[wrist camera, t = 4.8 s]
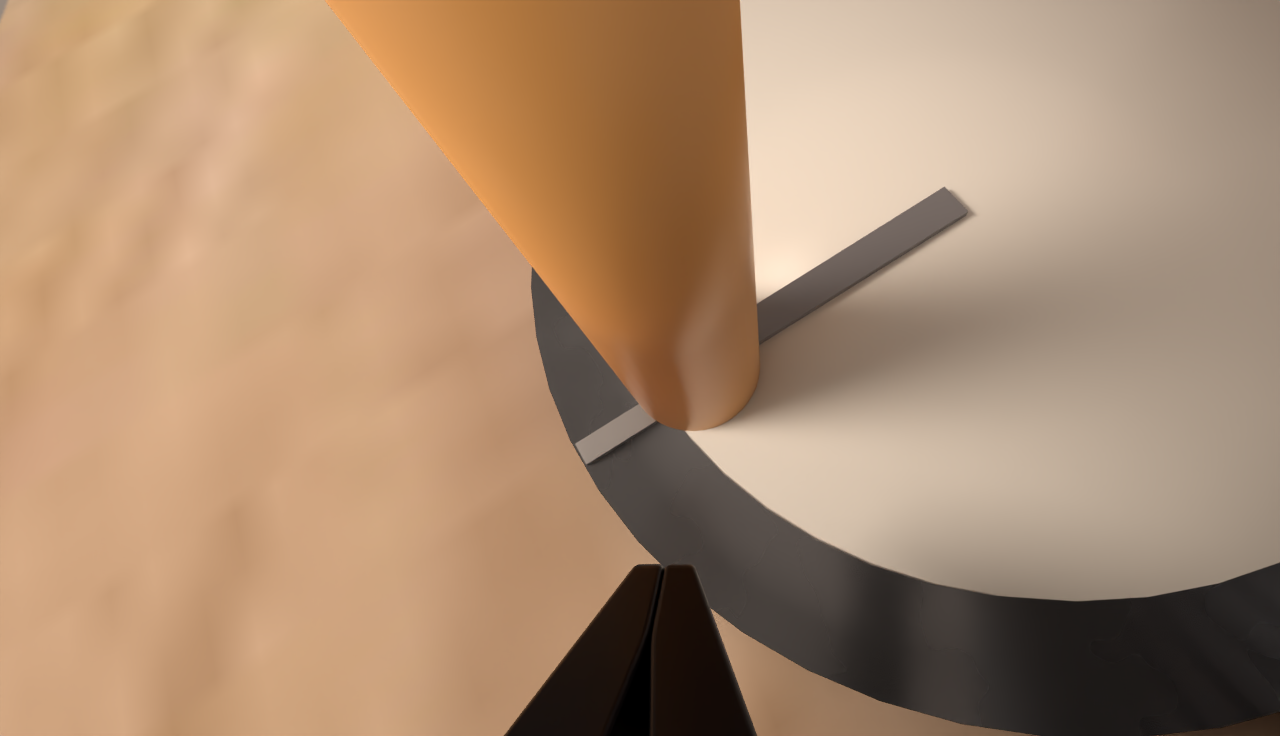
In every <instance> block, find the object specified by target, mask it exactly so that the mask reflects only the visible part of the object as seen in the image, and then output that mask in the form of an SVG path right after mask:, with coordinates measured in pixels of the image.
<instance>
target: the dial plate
mask: <svg viewBox="0 0 1280 736" xmlns="http://www.w3.org/2000/svg"><path fill="white" fill-rule="evenodd" d="M531 290H532V299H533V308H534V318H535V327H536V336H537V341H538V345H539V349H540V353H541V357H542V361H543V365H544V369H545V373H546V377H547V381H548V385H549V389H550V391H551V394H552V396H553V399H554V401H555V404H556V406H557V409H558V411H559V414H560V416H561V419H562V421H563V424H564V426H565V428H566V431H567V433H568V436H569V438H570V441H571V442H572V444H573V446H574V448H575V449H576V451H577V453H578V455H579V456H580V458H581V460H582V462H583V463H584V465H585V467H586V469H587V470H588V472H589V474H590V476H591V477H592V479H593V481H594V482H595V484H596V486H597V488H598V489H599V491H600V493H601V494H602V495H603V496H604V498H605V499H606V500H607V502H608V503H609V504H610V506H611V507H612V508H613V509H614V511H615V512H616V513H617V515H618V516H619V517H620V519H621V520H622V521H623V522H624V524H625V525H626V526H627V528H628V529H629V530H630V532H631V533H632V534H633V535H634V537H635V538H636V539H637V541H638V542H639V543H640V544H641V545H642V546H643V547H644V548H645V549H646V550H647V551H648V552H649V553H650V554H651V555H652V556H653V557H654V558H655V559H656V560H657V561H658V562H659V563H660V564H661V565H662V566H664V568H665V567H666V566H667V565H669V564H692V565H693V566H694V567H695V568H696V571H697V573H698V576H699V579H700V582H701V584H702V587H703V590H704V592H705V595H706V598H707V601H708V603H709V606H710V608H711V609H713V610H714V611H715V612H717V613H718V614H719V615H721V616H722V617H723V618H725V619H726V620H727V621H728V622H730V623H731V624H732V625H734V626H735V627H736V628H738V629H739V630H740V631H741V632H743V633H745V634H746V635H748V636H750V637H752V638H753V639H755V640H757V641H758V642H760V643H762V644H764V645H765V646H767V647H769V648H770V649H772V650H774V651H776V652H777V653H779V654H781V655H783V656H784V657H786V658H788V659H789V660H791V661H793V662H795V663H796V664H798V665H800V666H801V667H803V668H805V669H807V670H809V671H811V672H813V673H816V674H818V675H820V676H823V677H825V678H827V679H830V680H832V681H834V682H837V683H839V684H842V685H844V686H846V687H849V688H851V689H853V690H856V691H858V692H860V693H863V694H865V695H867V696H870V697H872V698H874V699H877V700H879V701H882V702H885V703H889V704H892V705H896V706H900V707H903V708H907V709H910V710H914V711H917V712H921V713H924V714H928V715H931V716H935V717H938V718H942V719H945V720H949V721H953V722H956V723H960V724H965V725H972V726H979V727H985V728H992V729H999V730H1005V731H1012V732H1019V733H1025V734H1032V735H1039V736H1155V735H1163V734H1172V733H1180V732H1188V731H1197V730H1205V729H1213V728H1221V727H1225V726H1229V725H1232V724H1236V723H1240V722H1244V721H1247V720H1251V719H1255V718H1258V717H1262V716H1266V715H1269V714H1273V713H1277V712H1280V562H1279V563H1277V564H1274V565H1271V566H1268V567H1265V568H1262V569H1259V570H1256V571H1253V572H1250V573H1247V574H1244V575H1241V576H1239V577H1236V578H1233V579H1230V580H1227V581H1224V582H1221V583H1218V584H1213V585H1208V586H1202V587H1197V588H1192V589H1187V590H1182V591H1177V592H1171V593H1166V594H1161V595H1156V596H1151V597H1139V598H1123V599H1106V600H1090V601H1066V600H1051V599H1036V598H1021V597H1006V596H995V595H987V594H982V593H977V592H971V591H966V590H961V589H956V588H951V587H945V586H940V585H935V584H930V583H926V582H922V581H919V580H916V579H913V578H910V577H907V576H904V575H901V574H898V573H894V572H891V571H888V570H885V569H882V568H879V567H876V566H873V565H869V564H867V563H865V562H863V561H861V560H858V559H856V558H854V557H852V556H850V555H848V554H845V553H843V552H841V551H839V550H837V549H835V548H832V547H830V546H828V545H826V544H824V543H822V542H819V541H817V540H815V539H813V538H812V537H810V536H809V535H807V534H805V533H804V532H802V531H801V530H799V529H797V528H796V527H794V526H793V525H791V524H789V523H788V522H786V521H784V520H783V519H781V518H780V517H778V516H776V515H775V514H773V513H772V512H770V511H768V510H767V509H766V508H764V507H763V506H762V505H761V504H759V503H758V502H757V501H756V500H755V499H753V498H752V497H751V496H750V495H748V494H747V493H746V492H745V491H743V490H742V489H741V488H740V487H738V486H737V485H736V484H735V483H734V482H732V481H731V480H730V479H729V478H727V477H726V476H725V475H724V474H723V473H722V472H721V471H720V470H719V469H718V468H717V466H716V465H715V464H714V463H713V462H712V461H711V460H710V459H709V458H708V457H707V456H706V455H705V454H704V453H703V452H702V451H701V450H700V449H699V448H698V446H697V445H696V444H695V443H694V442H693V441H692V440H691V439H690V438H689V436H688V435H687V433H686V432H685V431H684V430H677V429H674V428H670V427H668V426H665V425H663V424H661V423H659V422H658V421H656V420H654V419H653V418H652V417H651V416H649V415H648V414H647V413H646V412H645V411H644V410H643V409H642V407H641V406H640V405H639V403H638V402H637V401H636V400H635V398H634V397H633V396H632V394H631V393H630V392H629V391H628V389H627V388H626V387H625V385H624V384H623V383H622V382H621V380H620V379H619V378H618V376H617V375H616V374H615V373H614V371H613V370H612V369H611V367H610V366H609V365H608V364H607V362H606V361H605V360H604V358H603V357H602V356H601V355H600V353H599V352H598V351H597V349H596V348H595V347H594V346H593V344H592V343H591V342H590V340H589V339H588V338H587V337H586V335H585V334H584V333H583V331H582V330H581V329H580V328H579V326H578V325H577V324H576V322H575V321H574V320H573V319H572V317H571V316H570V315H569V313H568V312H567V311H566V310H565V308H564V307H563V306H562V304H561V303H560V302H559V301H558V299H557V298H556V297H555V295H554V294H553V293H552V292H551V290H550V289H549V288H548V286H547V285H546V284H545V283H544V281H543V280H542V279H541V277H540V276H539V275H538V274H537V272H536V271H535V270H534V268H533V267H532V282H531Z"/></svg>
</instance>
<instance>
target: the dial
mask: <svg viewBox="0 0 1280 736" xmlns="http://www.w3.org/2000/svg"><path fill="white" fill-rule="evenodd" d="M325 1H326V2H327V4H328V5H329V6H330V7H331V9H332V10H333V11H334V13H335V14H336V15H337V16H338V18H339V19H340V20H341V22H342V23H343V24H344V25H345V27H346V28H347V29H348V31H349V32H350V33H351V34H352V36H353V37H354V38H355V40H356V41H357V42H358V43H359V45H360V46H361V47H362V49H363V50H364V51H365V52H366V54H367V55H368V56H369V58H370V59H371V60H372V61H373V63H374V64H375V65H376V67H377V68H378V69H379V70H380V72H381V73H382V74H383V76H384V77H385V78H386V79H387V81H388V82H389V83H390V85H391V86H392V87H393V88H394V90H395V91H396V92H397V94H398V95H399V96H400V97H401V99H402V100H403V101H404V103H405V104H406V105H407V106H408V108H409V109H410V110H411V112H412V113H413V114H414V115H415V117H416V118H417V119H418V121H419V122H420V123H421V124H422V126H423V127H424V128H425V130H426V131H427V132H428V133H429V135H430V136H431V137H432V139H433V140H434V141H435V142H436V144H437V145H438V146H439V148H440V149H441V150H442V151H443V153H444V154H445V155H446V157H447V158H448V159H449V160H450V162H451V163H452V164H453V166H454V167H455V168H456V169H457V171H458V172H459V173H460V175H461V176H462V177H463V178H464V180H465V181H466V182H467V184H468V185H469V186H470V187H471V189H472V190H473V191H474V193H475V194H476V195H477V196H478V198H479V199H480V200H481V202H482V203H483V204H484V205H485V207H486V208H487V209H488V211H489V212H490V213H491V214H492V216H493V217H494V218H495V220H496V221H497V222H498V223H499V225H500V226H501V227H502V229H503V230H504V231H505V232H506V234H507V235H508V236H509V238H510V239H511V240H512V241H513V243H514V244H515V245H516V247H517V248H518V249H519V250H520V252H521V253H522V254H523V256H524V257H525V258H526V259H527V261H528V262H529V263H530V265H531V266H532V267H533V268H534V270H535V271H536V272H537V274H538V275H539V276H540V277H541V279H542V280H543V281H544V283H545V284H546V285H547V286H548V288H549V289H550V290H551V292H552V293H553V294H554V295H555V297H556V298H557V299H558V301H559V302H560V303H561V304H562V306H563V307H564V308H565V310H566V311H567V312H568V313H569V315H570V316H571V317H572V319H573V320H574V321H575V322H576V324H577V325H578V326H579V328H580V329H581V330H582V331H583V333H584V334H585V335H586V337H587V338H588V339H589V340H590V342H591V343H592V344H593V346H594V347H595V348H596V349H597V351H598V352H599V353H600V355H601V356H602V357H603V358H604V360H605V361H606V362H607V364H608V365H609V366H610V367H611V369H612V370H613V371H614V373H615V374H616V375H617V376H618V378H619V379H620V380H621V382H622V383H623V384H624V385H625V387H626V388H627V389H628V391H629V392H630V393H631V394H632V396H633V397H634V398H635V400H636V401H637V402H638V403H639V405H640V406H641V407H642V409H643V410H644V411H645V412H646V413H647V414H648V415H649V416H651V417H652V418H653V419H654V420H656V421H658V422H659V423H661V424H663V425H665V426H668V427H670V428H674V429H677V430H684V431H685V432H686V433H687V435H688V436H689V438H690V439H691V440H692V441H693V442H694V443H695V444H696V445H697V446H698V448H699V449H700V450H701V451H702V452H703V453H704V454H705V455H706V456H707V457H708V458H709V459H710V460H711V461H712V462H713V463H714V464H715V465H716V466H717V468H718V469H719V470H720V471H721V472H722V473H723V474H724V475H725V476H726V477H727V478H729V479H730V480H731V481H732V482H734V483H735V484H736V485H737V486H738V487H740V488H741V489H742V490H743V491H745V492H746V493H747V494H748V495H750V496H751V497H752V498H753V499H755V500H756V501H757V502H758V503H759V504H761V505H762V506H763V507H764V508H766V509H767V510H768V511H770V512H772V513H773V514H775V515H776V516H778V517H780V518H781V519H783V520H784V521H786V522H788V523H789V524H791V525H793V526H794V527H796V528H797V529H799V530H801V531H802V532H804V533H805V534H807V535H809V536H810V537H812V538H813V539H815V540H817V541H819V542H822V543H824V544H826V545H828V546H830V547H832V548H835V549H837V550H839V551H841V552H843V553H845V554H848V555H850V556H852V557H854V558H856V559H858V560H861V561H863V562H865V563H867V564H869V565H873V566H876V567H879V568H882V569H885V570H888V571H891V572H894V573H898V574H901V575H904V576H907V577H910V578H913V579H916V580H919V581H922V582H926V583H930V584H935V585H940V586H945V587H951V588H956V589H961V590H966V591H971V592H977V593H982V594H987V595H995V596H1006V597H1021V598H1036V599H1051V600H1066V601H1090V600H1106V599H1123V598H1139V597H1151V596H1156V595H1161V594H1166V593H1171V592H1177V591H1182V590H1187V589H1192V588H1197V587H1202V586H1208V585H1213V584H1218V583H1221V582H1224V581H1227V580H1230V579H1233V578H1236V577H1239V576H1241V575H1244V574H1247V573H1250V572H1253V571H1256V570H1259V569H1262V568H1265V567H1268V566H1271V565H1274V564H1277V563H1279V562H1280V0H325Z"/></svg>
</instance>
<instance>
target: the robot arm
mask: <svg viewBox="0 0 1280 736" xmlns="http://www.w3.org/2000/svg"><path fill="white" fill-rule="evenodd" d="M504 736H757V734H756V732H755V729H754V726H753V723H752V721H751V718H750V715H749V713H748V710H747V707H746V704H745V702H744V699H743V696H742V693H741V691H740V688H739V685H738V683H737V680H736V677H735V674H734V672H733V669H732V666H731V663H730V661H729V658H728V655H727V652H726V650H725V647H724V644H723V642H722V639H721V636H720V633H719V631H718V628H717V625H716V622H715V620H714V617H713V614H712V612H711V609H710V606H709V603H708V601H707V598H706V595H705V592H704V590H703V587H702V584H701V582H700V579H699V576H698V573H697V571H696V568H695V567H694V566H693V565H692V564H669V565H667V566H666V567H665V568H664V566H662V565H660V564H639V565H636V566H635V567H633V569H632V570H631V571H630V572H629V574H628V575H627V576H626V578H625V579H624V580H623V582H622V583H621V584H620V585H619V587H618V588H617V589H616V591H615V592H614V593H613V595H612V596H611V597H610V598H609V600H608V601H607V602H606V604H605V605H604V606H603V608H602V609H601V610H600V611H599V613H598V614H597V615H596V617H595V618H594V619H593V621H592V622H591V623H590V624H589V626H588V627H587V628H586V630H585V631H584V632H583V634H582V635H581V636H580V637H579V639H578V640H577V641H576V643H575V644H574V645H573V647H572V648H571V649H570V650H569V652H568V653H567V654H566V656H565V657H564V658H563V660H562V661H561V662H560V663H559V665H558V666H557V667H556V669H555V670H554V671H553V673H552V674H551V675H550V677H549V678H548V679H547V680H546V682H545V683H544V684H543V686H542V687H541V688H540V690H539V691H538V692H537V693H536V695H535V696H534V697H533V699H532V700H531V701H530V703H529V704H528V705H527V706H526V708H525V709H524V710H523V712H522V713H521V714H520V716H519V717H518V718H517V719H516V721H515V722H514V723H513V725H512V726H511V727H510V729H509V730H508V731H507V732H506V734H505V735H504Z"/></svg>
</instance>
